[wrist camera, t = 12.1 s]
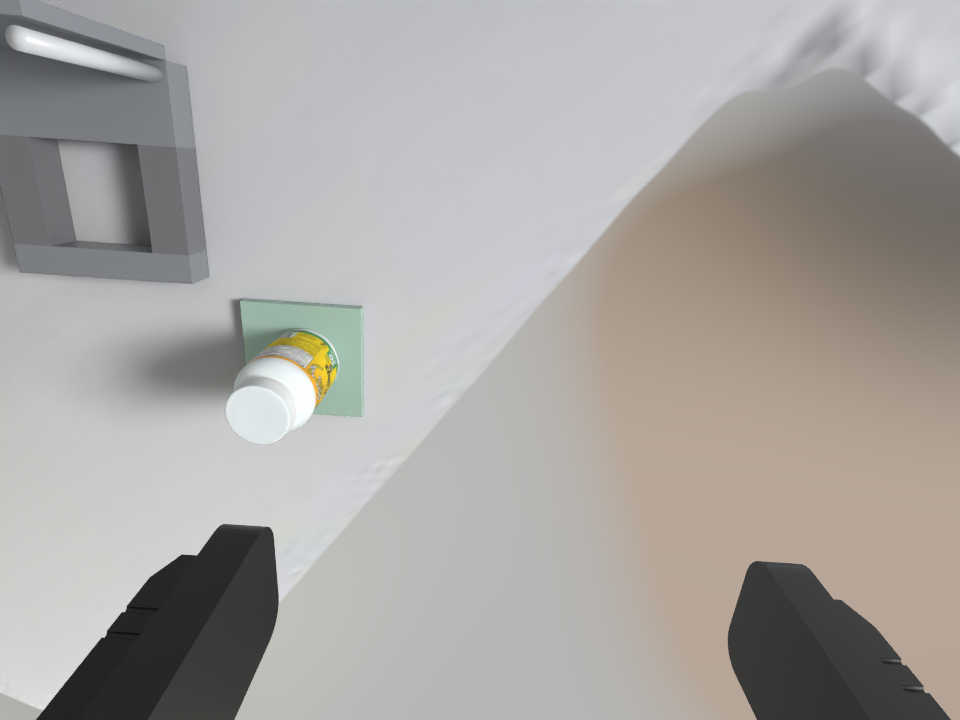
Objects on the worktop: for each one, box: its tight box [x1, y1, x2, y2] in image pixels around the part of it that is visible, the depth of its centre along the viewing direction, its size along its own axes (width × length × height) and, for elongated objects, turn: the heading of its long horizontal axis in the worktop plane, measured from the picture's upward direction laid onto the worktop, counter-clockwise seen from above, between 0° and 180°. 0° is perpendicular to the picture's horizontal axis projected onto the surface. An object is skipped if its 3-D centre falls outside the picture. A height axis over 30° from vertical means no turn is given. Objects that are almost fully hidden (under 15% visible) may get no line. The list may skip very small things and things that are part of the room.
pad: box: [240, 299, 364, 417], centre depth 42 cm, size 9×9×1 cm
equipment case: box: [0, 0, 209, 284], centre depth 31 cm, size 15×12×14 cm
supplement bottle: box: [225, 329, 339, 444], centre depth 37 cm, size 5×5×10 cm
